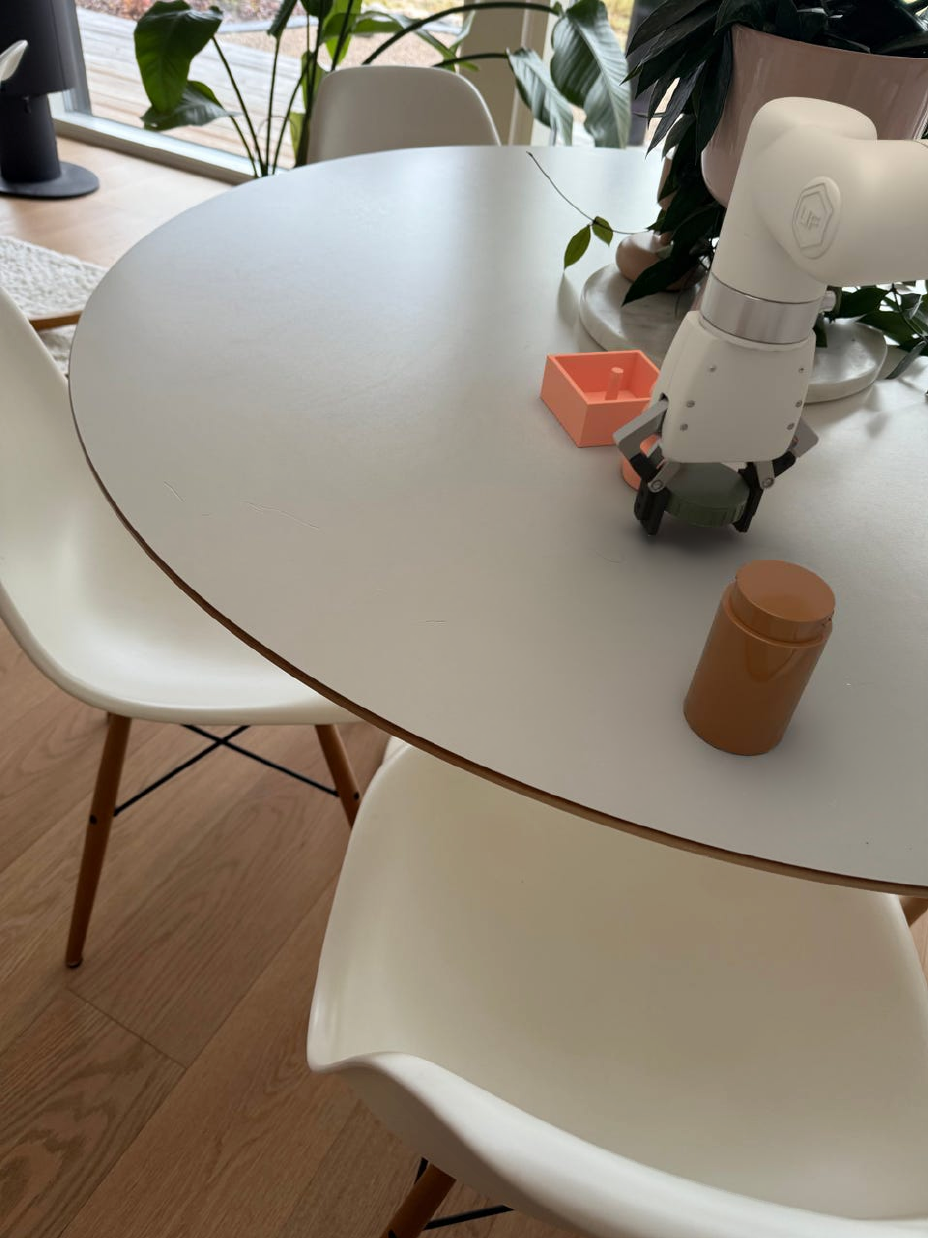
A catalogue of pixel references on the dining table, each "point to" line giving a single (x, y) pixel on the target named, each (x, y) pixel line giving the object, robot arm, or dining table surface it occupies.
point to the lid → (707, 494)
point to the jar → (759, 656)
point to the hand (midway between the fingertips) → (691, 522)
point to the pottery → (600, 396)
